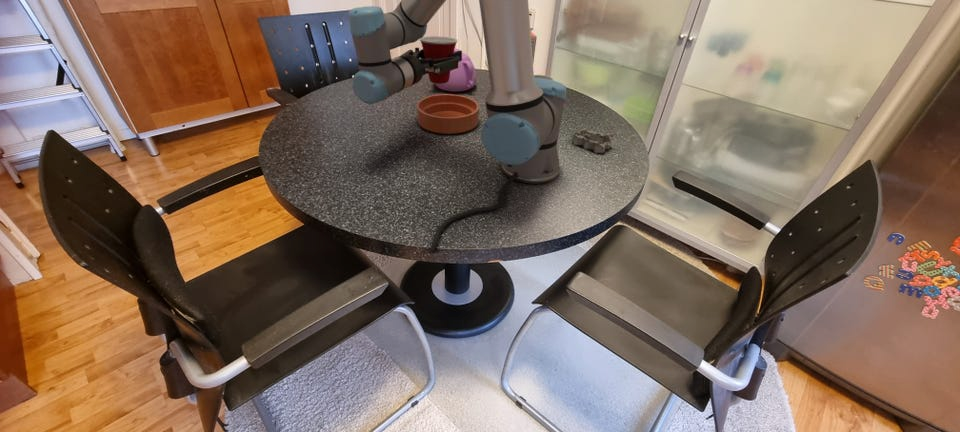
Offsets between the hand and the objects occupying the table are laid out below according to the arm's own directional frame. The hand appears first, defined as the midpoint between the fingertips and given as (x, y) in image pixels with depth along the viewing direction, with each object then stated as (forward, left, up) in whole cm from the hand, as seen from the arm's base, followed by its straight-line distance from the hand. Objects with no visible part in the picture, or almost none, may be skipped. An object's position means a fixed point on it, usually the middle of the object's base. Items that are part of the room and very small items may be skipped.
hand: (446, 52), depth 111 cm
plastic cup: (-5, +1, -7) cm, 9 cm away
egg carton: (-5, -47, -20) cm, 51 cm away
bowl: (-5, -2, -20) cm, 20 cm away
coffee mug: (+20, -27, -20) cm, 39 cm away
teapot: (+25, +8, -20) cm, 33 cm away
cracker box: (+35, -17, -20) cm, 44 cm away
